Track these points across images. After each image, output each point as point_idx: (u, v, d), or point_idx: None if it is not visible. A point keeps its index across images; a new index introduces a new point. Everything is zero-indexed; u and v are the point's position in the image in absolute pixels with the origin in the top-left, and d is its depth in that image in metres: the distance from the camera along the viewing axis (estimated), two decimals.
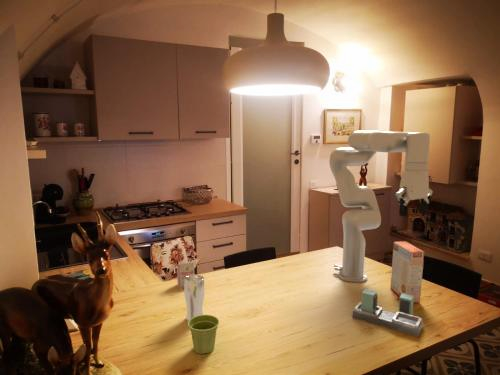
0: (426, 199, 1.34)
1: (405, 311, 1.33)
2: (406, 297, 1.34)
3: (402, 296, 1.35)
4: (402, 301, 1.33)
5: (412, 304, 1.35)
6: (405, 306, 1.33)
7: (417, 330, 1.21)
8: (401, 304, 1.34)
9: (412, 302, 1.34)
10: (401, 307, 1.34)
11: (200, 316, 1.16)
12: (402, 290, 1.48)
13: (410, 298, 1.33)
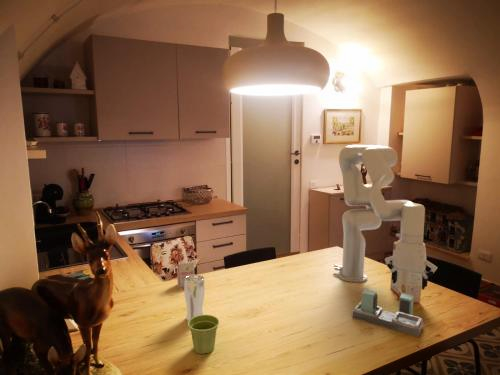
0: None
1: (405, 311, 1.33)
2: (406, 297, 1.34)
3: (402, 296, 1.35)
4: (402, 301, 1.33)
5: (412, 304, 1.35)
6: (405, 306, 1.33)
7: (417, 330, 1.21)
8: (401, 304, 1.34)
9: (412, 302, 1.34)
10: (401, 307, 1.34)
11: (200, 316, 1.16)
12: (402, 290, 1.48)
13: (410, 298, 1.33)
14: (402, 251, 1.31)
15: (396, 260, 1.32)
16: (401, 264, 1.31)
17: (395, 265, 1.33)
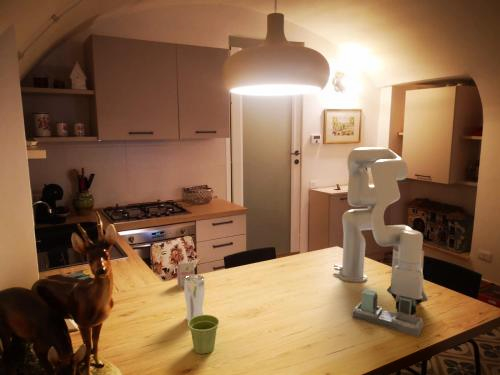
0: None
1: (405, 311, 1.33)
2: (406, 297, 1.34)
3: (402, 296, 1.35)
4: (402, 301, 1.33)
5: None
6: (405, 306, 1.33)
7: (417, 330, 1.21)
8: (401, 304, 1.34)
9: (412, 302, 1.34)
10: (401, 307, 1.34)
11: (200, 316, 1.16)
12: None
13: (410, 298, 1.33)
14: (400, 277, 1.33)
15: (394, 285, 1.34)
16: (398, 290, 1.33)
17: (392, 290, 1.35)
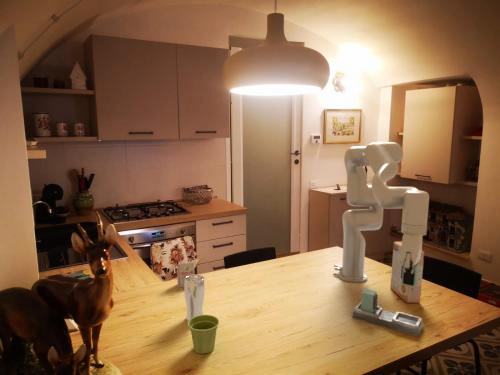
0: None
1: None
2: None
3: None
4: None
5: None
6: None
7: (417, 330, 1.21)
8: None
9: None
10: None
11: (200, 316, 1.16)
12: (402, 290, 1.48)
13: None
14: None
15: None
16: None
17: None
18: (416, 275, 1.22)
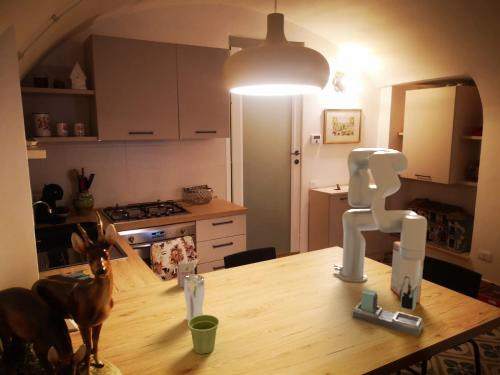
0: None
1: None
2: None
3: None
4: (401, 288, 1.26)
5: None
6: None
7: (417, 330, 1.21)
8: None
9: None
10: None
11: (200, 316, 1.16)
12: None
13: None
14: None
15: None
16: None
17: None
18: (414, 299, 1.23)
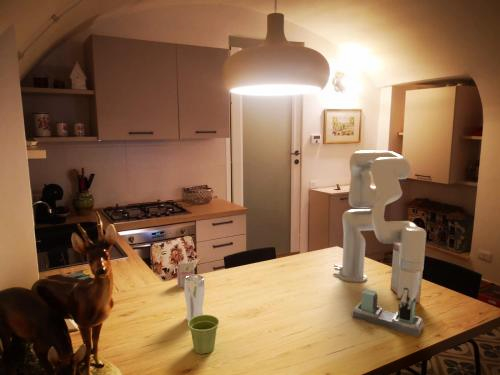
0: (415, 296, 1.27)
1: None
2: None
3: None
4: (400, 302, 1.27)
5: None
6: None
7: (417, 330, 1.21)
8: None
9: None
10: None
11: (200, 316, 1.16)
12: None
13: None
14: None
15: None
16: None
17: None
18: (413, 313, 1.24)
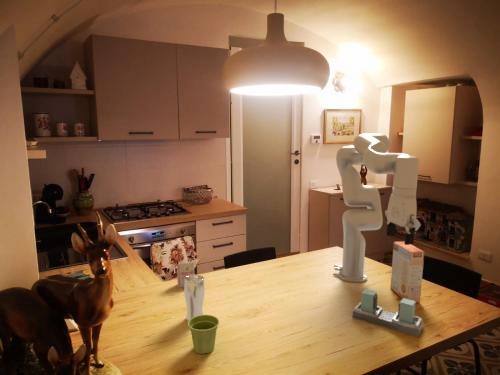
0: None
1: None
2: (404, 301, 1.25)
3: (406, 299, 1.26)
4: (400, 302, 1.27)
5: (408, 312, 1.23)
6: None
7: (417, 330, 1.21)
8: None
9: (407, 309, 1.23)
10: None
11: (200, 316, 1.16)
12: (402, 290, 1.48)
13: (404, 302, 1.24)
14: (392, 203, 1.30)
15: (388, 212, 1.32)
16: (390, 216, 1.31)
17: (387, 217, 1.33)
18: (413, 313, 1.24)
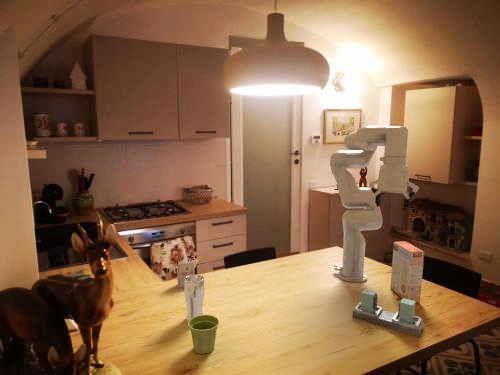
0: None
1: None
2: (404, 301, 1.25)
3: (406, 299, 1.26)
4: (400, 302, 1.27)
5: (408, 312, 1.23)
6: None
7: (417, 330, 1.21)
8: None
9: (407, 309, 1.23)
10: None
11: (200, 316, 1.16)
12: (402, 290, 1.48)
13: (404, 302, 1.24)
14: (385, 173, 1.34)
15: (379, 182, 1.36)
16: (384, 186, 1.35)
17: (378, 188, 1.36)
18: (413, 313, 1.24)
